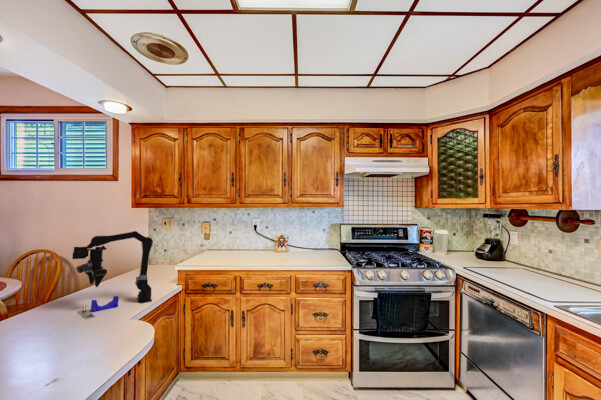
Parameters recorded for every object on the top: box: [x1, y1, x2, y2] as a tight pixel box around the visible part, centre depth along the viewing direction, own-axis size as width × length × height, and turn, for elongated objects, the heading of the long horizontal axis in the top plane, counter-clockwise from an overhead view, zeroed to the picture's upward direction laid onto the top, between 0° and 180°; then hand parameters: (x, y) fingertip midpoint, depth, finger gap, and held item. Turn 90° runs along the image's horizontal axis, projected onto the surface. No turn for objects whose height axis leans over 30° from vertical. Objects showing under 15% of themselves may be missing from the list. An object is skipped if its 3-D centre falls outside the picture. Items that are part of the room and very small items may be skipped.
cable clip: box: [90, 295, 119, 313], centre depth 149 cm, size 12×4×6 cm, turn 144°
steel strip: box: [76, 305, 96, 320], centre depth 139 cm, size 4×16×4 cm, turn 51°
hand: (93, 285), depth 149 cm, fingers open, 9 cm apart
